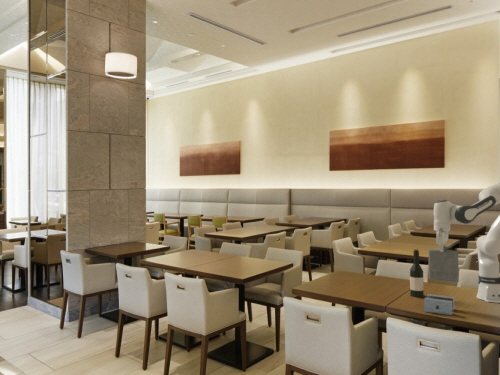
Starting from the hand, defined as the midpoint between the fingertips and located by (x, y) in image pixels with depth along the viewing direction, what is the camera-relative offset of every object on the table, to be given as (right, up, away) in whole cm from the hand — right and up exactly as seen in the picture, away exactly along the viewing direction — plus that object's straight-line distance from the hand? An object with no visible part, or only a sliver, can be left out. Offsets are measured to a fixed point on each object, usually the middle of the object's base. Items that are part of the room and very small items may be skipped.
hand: (442, 251), depth 236 cm
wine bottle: (-5, -33, +25) cm, 42 cm away
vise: (-5, -33, -6) cm, 34 cm away
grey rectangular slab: (+1, -17, 0) cm, 17 cm away
